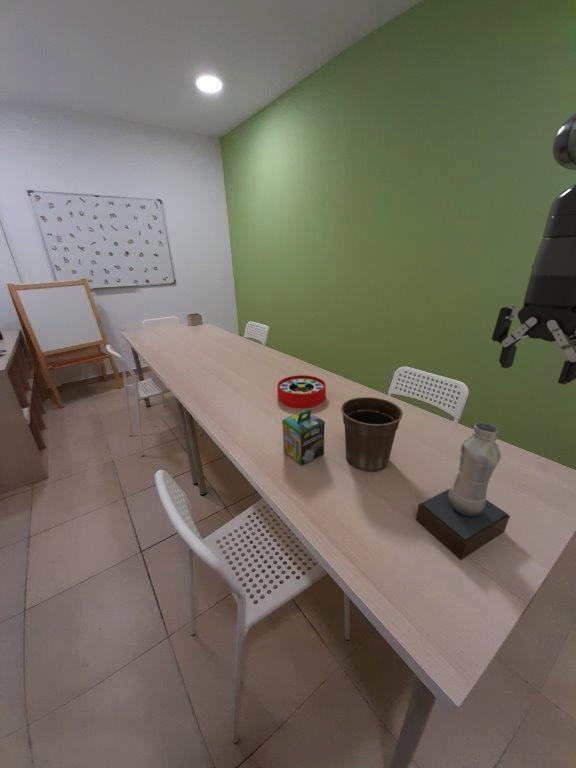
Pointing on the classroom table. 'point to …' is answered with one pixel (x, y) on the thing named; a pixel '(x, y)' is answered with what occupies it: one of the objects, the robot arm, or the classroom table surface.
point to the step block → (460, 524)
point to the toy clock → (301, 391)
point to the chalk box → (303, 436)
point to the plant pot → (370, 431)
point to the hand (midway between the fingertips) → (532, 374)
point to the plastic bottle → (475, 470)
